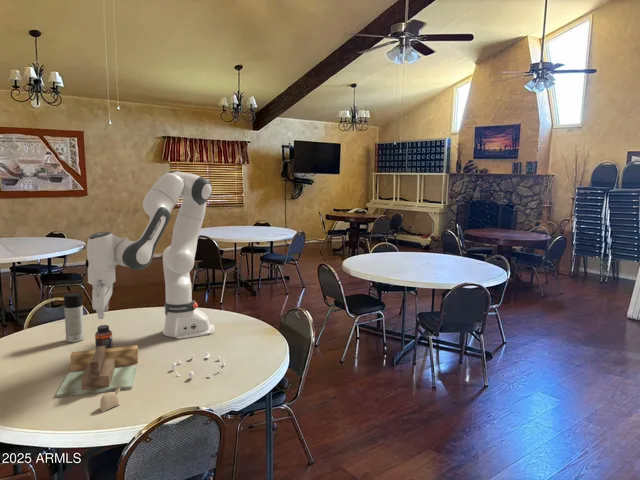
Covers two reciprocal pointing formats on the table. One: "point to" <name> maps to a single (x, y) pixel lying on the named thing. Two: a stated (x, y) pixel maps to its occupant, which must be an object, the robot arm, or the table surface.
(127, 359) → the oak slat
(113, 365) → the ridge stand
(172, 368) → the game piece set
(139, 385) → the table surface
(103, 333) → the supplement bottle
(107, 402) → the decorative ornament
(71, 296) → the spray can
